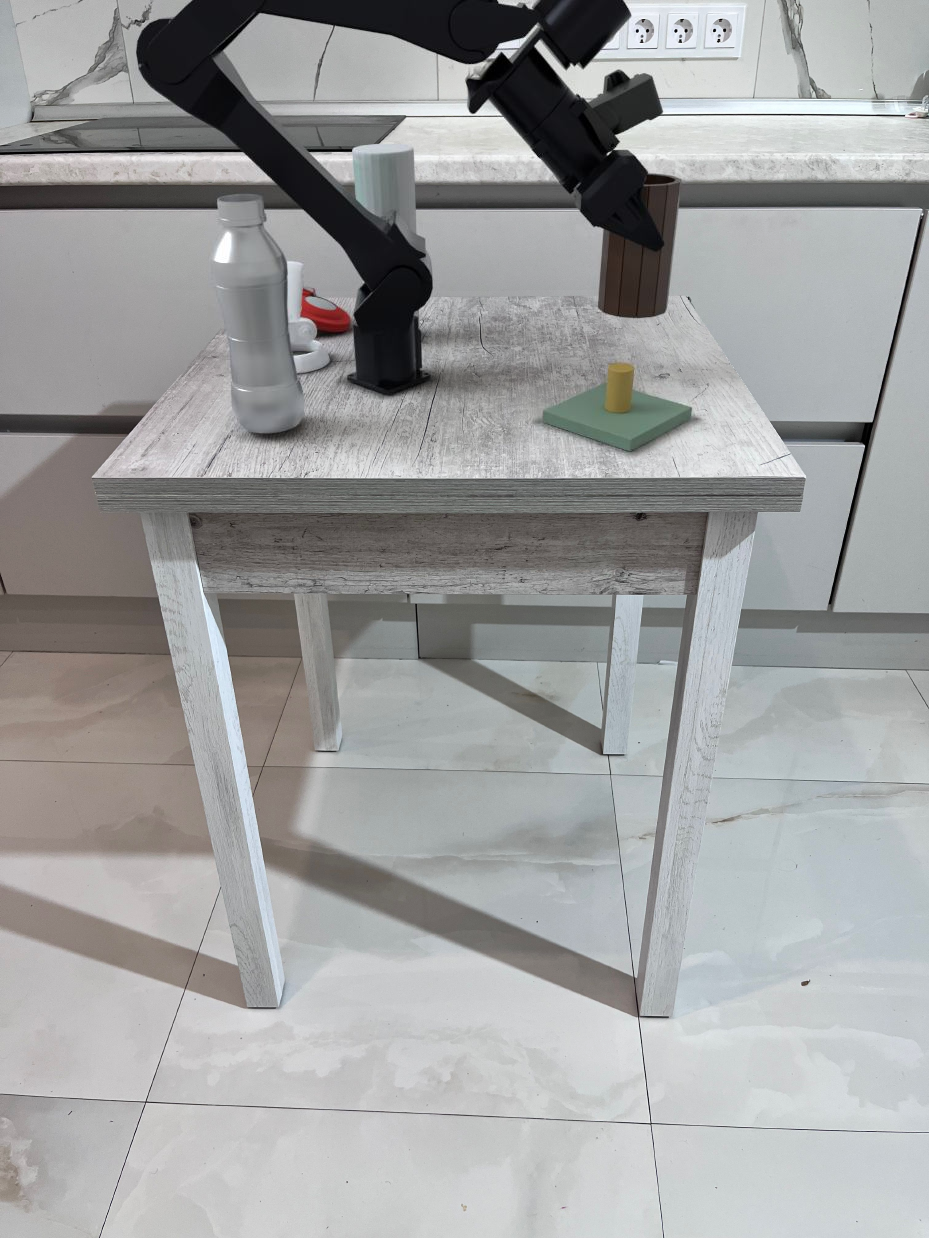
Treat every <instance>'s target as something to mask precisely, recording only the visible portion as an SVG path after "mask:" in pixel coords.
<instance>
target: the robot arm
mask: <svg viewBox="0 0 929 1238" xmlns="http://www.w3.org/2000/svg"><path fill="white" fill-rule="evenodd" d="M259 14H263V15H268V16H275V17H280V18H286V19H293V20H298V21H305V22H310V23H316V24H322V25H328V26H333V27H339V28H344V29H351V30H355V31H356V30H357V31H363V32H368V33H375V34H381V35H386V36H390V37H394V38H396V39H399V40H402V41H405V42H407V43H409V44H412V45H414V46H416V47H418V48H420V49H423V50H426V51H429V52H431V53H434V54H436V55H439V56H442V57H444V58H446V59H449V60H451V61H454V62H457V63H459V64H463V65H477V64H480V63H484V61H487V59H489V58H490V57H491V56H492V55H493V54H495V52H496V50H497V49H498V48H499V46H500V45H501V44H505V43H508V42H513V41H517V40H521V39H524V38H526V37H527V36H528V35H529V33H530V35H529V36H528V38H526V39H525V41H524V42H523V43H522V44H521V45H520V46H519V48H517V50H515V52H513V54H512V55H510V57H509V58H508V56H507V55H506V54H504V52H503V51H500V52H499V53H498V54H497V56H496V57H494V59H493V60H492V61H491V63H490V64H489V65H488V66H487V67H486V68H485V69H484V71H483V72H482V73H481V74H480V76H478V77H477V76H474V77H473V76H466V77H465V78H464V83H465V85H466V89H467V101H466V102H467V103H466V108H467V110H468V112H469V113H470V114H471V115H476V114H477V113H478V111H480V109H481V108H482V107H483V106H484V105H485V103H486V102H488V101H489V102H490V103H491V105H492V106H493V107H494V108H495V109H496V110H497V111H498V113H499V114H500V115H501V116H502V117H503V118H504V119H505V121H506V122H507V123H508V124H509V125H510V126H511V127H512V128H513V130H514V131H515V132H516V133H517V134H518V135H519V137H520V138H521V139H522V140H523V141H524V143H526V145H527V146H528V147H529V149H530V150H531V151H532V152H533V154H535V156H536V157H537V158H538V159H540V160H541V162H542V163H543V164H544V165H545V166H546V167H547V168H548V170H550V172H551V173H552V174H553V175H554V177H555V178H556V180H557V181H558V183H559V184H560V185H561V186H562V188H563V189H564V190H565V191H566V192H567V193H568V194H569V195H572V194H573V193H574V194H573V198H574V206H575V207H576V208H577V209H578V211H579V213H580V214H581V215H582V216H583V217H584V218H585V219H586V220H587V221H588V223H589V224H590V225H591V226H592V227H593V228H599V229H602V230H603V229H605V230H607V231H609V232H612V233H614V234H616V235H619V236H621V237H623V238H625V239H628V240H630V241H632V242H635V243H637V244H639V245H641V246H643V247H646V248H648V249H650V250H652V251H654V252H658V251H659V250H660V249H661V248H662V247H663V246H664V244H665V242H664V240H663V238H662V236H661V234H660V233H659V231H658V229H657V227H656V225H655V223H654V221H653V219H652V217H651V215H650V213H649V211H648V209H647V207H646V205H645V203H644V201H643V199H642V192H643V186H644V182H645V181H646V176H647V174H648V173H649V171H648V169H647V168H646V167H645V165H643V163H642V162H641V161H640V160H639V158H637V156H636V155H635V154H634V153H632V152H631V151H630V150H629V149H616V148H617V147H618V145H619V144H620V143H621V141H620V140H619V138H618V137H617V136H619V135H620V134H622V133H625V132H627V131H628V130H630V129H632V128H634V127H636V126H638V125H640V124H642V123H644V122H646V121H653V120H655V119H656V118H658V117H660V116H661V115H663V113H664V110H663V106H662V103H661V100H660V97H659V93H658V90H657V87H656V84H655V80H654V77H653V75H652V74H649V73H646V72H643V73H636V74H634V75H633V77H631V78H630V76H628V75H627V74H626V73H625V72H624V71H623V70H622V69H615V70H614V71H611V72H610V73H608V74H606V75H604V78H603V90H602V93H599V94H596V95H597V96H596V97H594V98H593V99H591V100H590V101H588V100H586V98H584V97H583V96H581V95H580V94H579V93H576V94H575V93H574V92H573V90H572V89H571V88H570V87H569V86H568V84H567V83H566V82H565V81H564V80H563V79H562V77H561V76H560V75H559V73H557V71H556V70H555V69H554V68H553V66H552V65H551V64H550V63H549V62H548V60H547V59H546V58H545V57H544V56H543V55H542V53H541V52H540V50H538V48H537V46H536V45H537V44H538V42H539V41H540V42H541V43H542V45H543V46H544V47H545V48H546V50H547V51H548V53H550V55H551V56H552V57H553V58H554V60H555V61H556V62H557V63H558V64H559V65H560V66H561V68H562V69H564V71H568V69H570V67H571V65H572V66H573V67H574V68H575V67H576V66H578V67H579V68H580V69H581V70H583V71H584V69H586V67H588V65H589V64H590V63H591V62H592V61H593V60H594V59H595V57H597V56H598V54H599V53H600V52H601V51H602V50H603V49H604V48H605V47H606V45H608V44H609V42H610V41H611V40H612V39H613V38H614V37H615V36H616V34H618V32H619V31H620V30H621V29H622V28H623V27H624V26H625V25H626V24H627V22H628V21H629V20H630V19H631V18H632V12H631V11H630V9H629V7H628V5H627V4H626V2H625V1H624V0H536V1H535V2H534V4H533V5H532V6H531V8H530V7H528V6H527V4H526V3H525V2H518V3H517V5H513V4H505V3H500V2H499V0H191V1H189V2H188V3H187V4H186V5H185V6H184V7H183V8H182V9H181V10H180V11H179V12H178V13H177V14H176V15H173V16H169V17H161V18H158V19H155V20H153V21H151V22H149V23H148V24H147V25H146V26H145V27H143V29H142V30H141V32H140V34H139V35H138V38H137V40H136V49H135V50H136V51H135V54H136V55H135V56H136V61H137V69H138V71H139V73H140V75H141V77H142V79H143V80H144V81H145V82H146V84H147V85H148V86H149V87H150V88H151V89H152V90H154V91H155V92H156V93H158V94H159V95H161V96H162V97H164V98H165V99H166V100H168V101H169V102H170V103H172V104H174V105H175V106H176V107H178V108H179V109H181V110H183V111H184V112H185V113H186V114H189V115H191V116H192V117H194V118H196V119H197V120H199V121H201V122H203V123H205V124H207V125H208V126H210V127H212V128H214V129H216V130H217V131H219V132H220V133H222V134H223V135H224V136H225V137H226V138H228V139H229V141H231V143H233V144H234V145H235V146H236V147H237V148H238V149H239V150H240V151H241V152H242V153H243V154H244V155H245V156H246V157H248V159H250V161H252V162H253V164H254V165H256V166H257V168H259V169H260V170H261V171H262V172H263V173H264V174H265V175H266V176H267V177H268V178H269V179H270V180H272V182H273V183H274V184H276V186H277V187H278V188H280V190H282V191H283V192H284V193H285V194H286V195H287V196H288V197H289V198H290V199H291V200H293V202H294V203H296V205H298V207H300V208H301V209H302V210H303V211H304V212H305V213H306V214H307V215H308V216H309V217H310V218H311V219H312V220H313V221H314V222H315V223H317V224H318V226H319V227H320V228H322V229H323V231H325V233H327V235H328V236H330V237H331V238H332V239H333V240H334V241H335V242H336V243H337V244H338V245H339V246H340V247H341V248H342V249H343V251H344V252H345V254H346V256H347V257H348V260H349V261H350V262H351V265H352V266H353V267H354V270H356V273H357V274H358V276H359V277H360V278H361V281H362V280H363V281H364V283H363V284H361V285H360V287H359V288H357V291H356V298H355V303H354V309H353V315H352V316H353V319H354V321H355V323H352V335H353V336H352V337H353V348H354V349H353V350H354V362H355V371H354V372H351V373H349V374H347V375H346V380H347V381H348V382H350V383H353V384H356V385H358V386H359V385H360V386H362V387H365V388H368V389H371V390H373V391H377V392H378V393H381V394H385V395H390V394H393V393H396V392H399V391H401V390H404V389H407V388H409V387H412V386H415V385H418V384H420V383H422V382H425V381H428V380H431V378H432V373H431V372H428V371H425V370H422V368H423V350H422V348H423V347H422V331H421V329H420V321H419V322H418V316H414V313H415V311H418V310H419V311H420V310H421V309H422V308H423V307H424V306H426V304H427V303H428V301H429V300H430V298H431V297H432V293H433V289H434V279H433V265H432V264H433V263H432V258H431V256H430V254H429V252H428V250H427V244H426V238H425V237H423V236H421V235H419V234H417V232H416V233H414V232H413V231H412V230H411V229H410V228H409V227H408V226H407V224H406V223H405V221H404V220H403V219H402V217H401V216H400V215H399V213H398V212H397V211H394V213H393V214H392V216H391V217H390V219H389V221H388V222H387V221H385V220H383V219H381V218H380V217H378V216H376V215H374V214H372V213H371V212H369V211H368V210H367V209H366V208H365V207H364V206H363V205H362V204H360V203H359V202H358V201H357V200H356V197H355V196H354V195H352V193H351V192H350V191H349V190H348V189H346V187H345V186H344V185H343V184H341V182H340V181H339V180H337V179H336V178H335V177H334V175H332V174H331V172H329V170H327V169H326V167H324V166H323V164H321V162H319V161H318V160H317V159H316V158H315V156H314V155H313V154H311V153H310V151H308V150H307V148H305V147H304V146H303V145H302V144H301V143H300V142H299V141H298V140H297V138H295V136H293V135H292V134H291V133H290V132H289V130H287V129H286V128H285V127H284V126H283V125H282V124H281V123H280V121H278V120H277V119H276V118H275V117H274V116H273V115H272V114H271V113H270V112H269V111H268V110H267V109H266V108H265V107H264V106H263V105H262V104H261V103H260V102H259V101H258V100H257V99H256V98H255V97H254V95H253V94H252V93H251V91H250V90H249V88H248V87H247V85H246V83H245V82H244V80H243V79H242V76H241V75H240V74H239V72H238V70H237V68H236V67H235V65H234V64H233V62H232V61H231V59H230V58H229V56H227V54H226V52H225V50H226V49H227V48H229V46H230V45H231V44H232V43H233V42H234V41H235V40H236V39H237V38H238V37H239V36H240V35H241V34H242V32H243V31H244V30H245V29H246V28H247V27H248V26H249V25H250V24H251V23H252V22H253V21H254V20H255V19H257V17H258V16H259ZM535 27H536V28H535ZM534 28H535V29H534ZM533 29H534V31H532V30H533ZM531 31H532V33H531Z"/></svg>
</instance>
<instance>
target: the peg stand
mask: <svg viewBox="0 0 929 1238" xmlns="http://www.w3.org/2000/svg"><path fill="white" fill-rule="evenodd" d="M634 379H635V366H634V365H633V364H630V363H627V362H615V363H611V364H609V365H608V367H607V376H606V381H605V382H603V383H601V384H599V385H596V386H594V387H591V388H590V389H588V390H585V391H583V392H580V393H578V394H576V395H574V396H572V397H570V398H567V399H565V400H563V401H560V402H558V403H556V404H554V405H552V406H550V407H548V408H545V409H543V410H542V423H544V424H547V425H550V426H553V427H556V428H559V429H562V430H565V431H568V432H571V433H574V434H578V435H580V436H583V437H585V438H589V439H592V440H594V441H598V442H600V443H603V444H606V445H610V446H612V447H615V448H618V449H621V450H624V451H627V452H632V451H634V450H636V449H638V448H640V447H642V446H643V445H645V444H647V443H649V442H650V441H652V440H654V439H656V438H658V437H659V436H662V435H664V434H665V433H667V432H669V431H671V430H673V429H675V428H676V427H678V426H681V425H682V424H684V423H686V422H688V421H690V420H691V419H692V413H693V406H690V405H687V404H683V403H679V402H676V401H674V400H668V399H665V398H662V397H658V396H655V395H652V394H649V393H646V392H641V391H638V390H636V389H635V390H634V389H633V388H634V381H635V380H634Z"/></svg>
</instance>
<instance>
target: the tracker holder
mask: <svg viewBox="0 0 929 1238" xmlns="http://www.w3.org/2000/svg"><path fill="white" fill-rule="evenodd" d="M301 307H302V309H301V313H300V317H303V318H307V319H310V320H311V321H313V322H314V324H315V325H316V328H317V330H320V331H325V332H326V331H327V332H333V333H341V332H346V331H348V330H349V329H350V325H351V321H352V319H351V315H350V314H349V313H348V312H347V311H346V310H344V309H343V308H341V307H340V306H338V305H337V304H335V303H334V302H332V301H331V300H329V299H327V298H324V297H321V296H318V295H317V293H316V288H313V287H310V286H309V285H305V284H303V291H302V302H301Z"/></svg>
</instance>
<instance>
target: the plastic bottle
mask: <svg viewBox="0 0 929 1238" xmlns="http://www.w3.org/2000/svg"><path fill="white" fill-rule="evenodd" d="M216 200H217V202H216V205H217V213H218V216H217V221H218V222H217V223H218V224H219V225H221V226H222V230H221V232H220V235H219V237H218V239H216V242H215V244H214V246H213V248H212V251H211V253H210V255H209V261H208V262H209V263H208V271H209V275H210V280H211V281H212V286H213V289H214V292H215V295H216V299H217V301H218V305H219V308H220V312H221V315H222V320H223V324H224V329H225V331H226V338H227V342H228V343H227V344H228V349H229V363H230V364H229V365H230V374H231V384H230V405H231V406H230V407H231V409H232V412H233V414H234V417H235V420H236V422H237V423H238V424H239V425H240V426H241V427H242V428H243V429H244V430H246V431H247V432H251V433H256V434H277V433H281V432H285V431H290V430H292V429H294V428H296V427H298V425H300V423H301V421H302V419H303V418H304V415H305V408H306V407H305V406H306V398H305V397H306V396H305V393H304V388H303V386H302V382H301V380H300V377H299V375H298V373H297V371H296V366H295V361H294V357H293V356H294V351H293V352H292V347H291V342H290V334H289V328H288V325H289V321H288V277H287V275H288V266H287V261H288V260H287V257H286V256H285V254H284V251H283V249H282V248H281V246H279V244H278V242H277V241H276V240H275V239H274V237H273V236H272V235H271V234H270V233H269V232H268V231H267V229H266V228H265V225H264V223H266V222H267V220H268V219H267V214H266V213H265V204H264V203H265V202H264V197H263V195H261V194H254V193H237V194H229V195H228V194H227V195H223V196H219V197H218V198H217V199H216Z"/></svg>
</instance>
